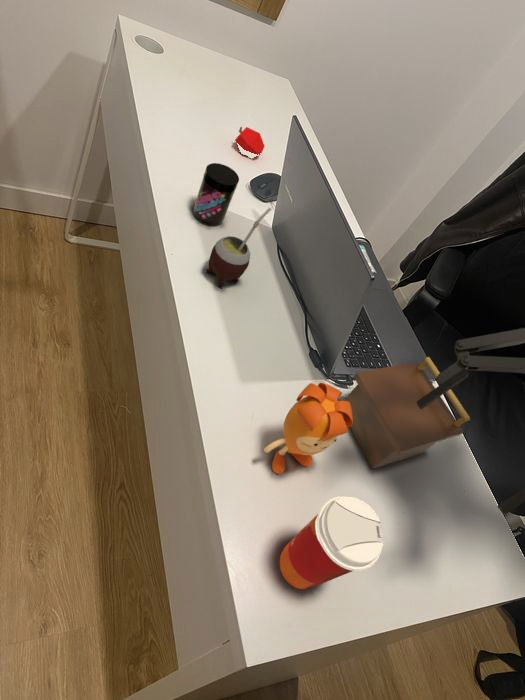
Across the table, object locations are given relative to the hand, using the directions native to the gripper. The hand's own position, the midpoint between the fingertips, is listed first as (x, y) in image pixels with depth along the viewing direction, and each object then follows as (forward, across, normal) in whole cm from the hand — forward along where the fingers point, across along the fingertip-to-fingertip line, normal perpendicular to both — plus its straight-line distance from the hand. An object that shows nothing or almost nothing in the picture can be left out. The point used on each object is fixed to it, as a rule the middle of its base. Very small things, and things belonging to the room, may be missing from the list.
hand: (457, 455), depth 55 cm
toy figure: (+19, +14, -15) cm, 28 cm away
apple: (-9, +86, -43) cm, 97 cm away
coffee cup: (+24, 0, -9) cm, 26 cm away
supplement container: (+8, +66, -26) cm, 71 cm away
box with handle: (+5, +10, -28) cm, 31 cm away
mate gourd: (+12, +49, -22) cm, 55 cm away
